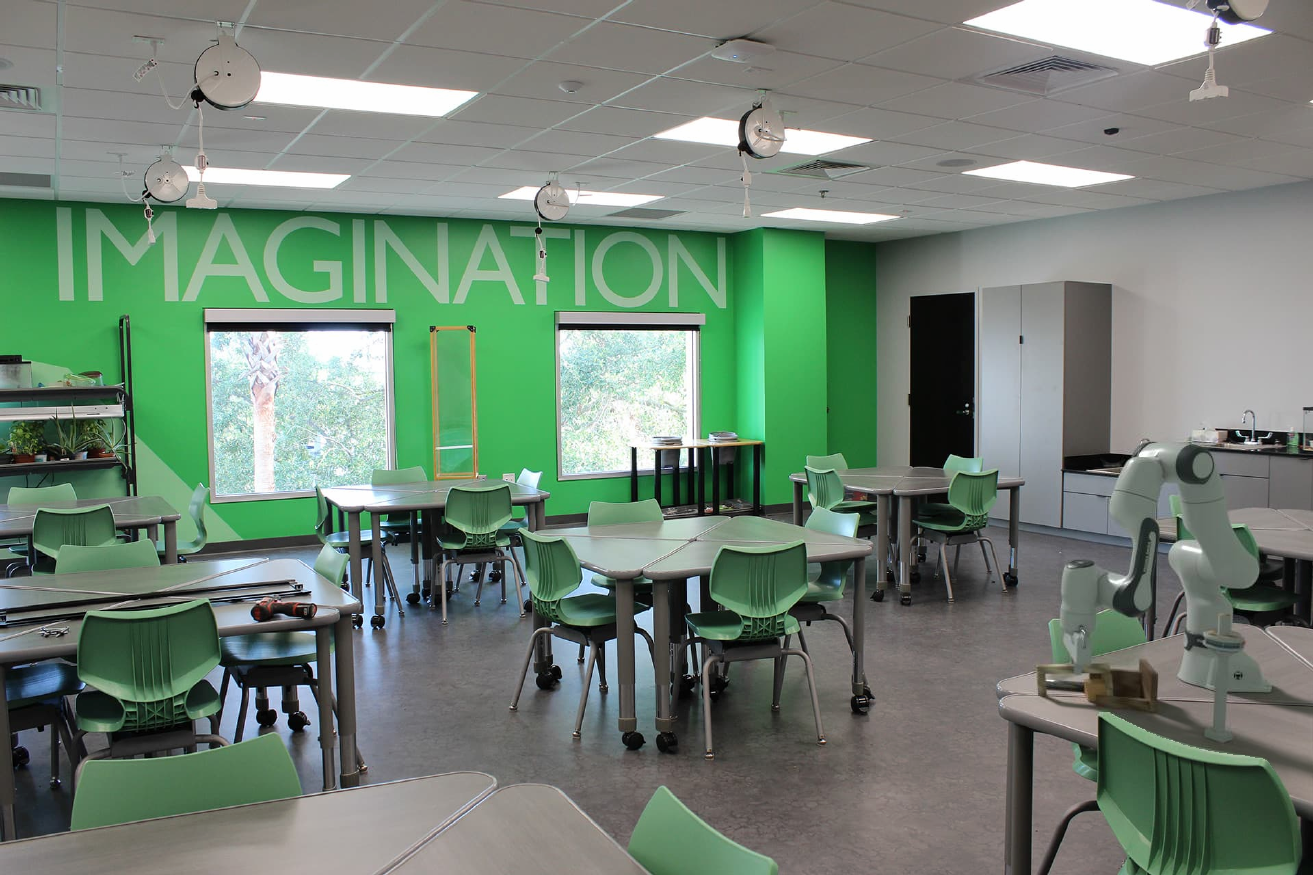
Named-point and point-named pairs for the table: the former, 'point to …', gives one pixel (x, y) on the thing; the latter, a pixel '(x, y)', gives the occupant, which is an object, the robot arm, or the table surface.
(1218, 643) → the model tower
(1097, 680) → the orange cube
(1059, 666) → the beech crook
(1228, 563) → the robot arm
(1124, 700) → the walnut cubby
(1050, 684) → the dark metal rod
